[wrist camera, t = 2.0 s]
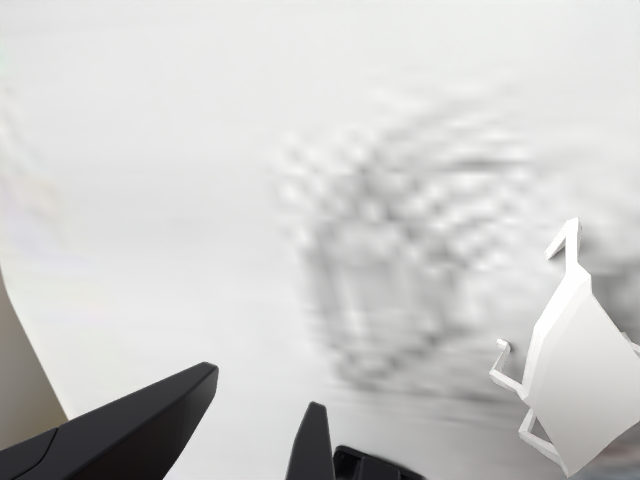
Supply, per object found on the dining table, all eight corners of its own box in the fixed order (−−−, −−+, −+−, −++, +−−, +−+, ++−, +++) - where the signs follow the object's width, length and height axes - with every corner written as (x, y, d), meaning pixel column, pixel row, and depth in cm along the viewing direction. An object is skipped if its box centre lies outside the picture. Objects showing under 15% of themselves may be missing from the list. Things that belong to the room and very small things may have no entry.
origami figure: (666, 393, 19) (748, 475, 14) (503, 415, 22) (529, 489, 17) (616, 189, 17) (692, 208, 12) (443, 241, 20) (453, 273, 15)
